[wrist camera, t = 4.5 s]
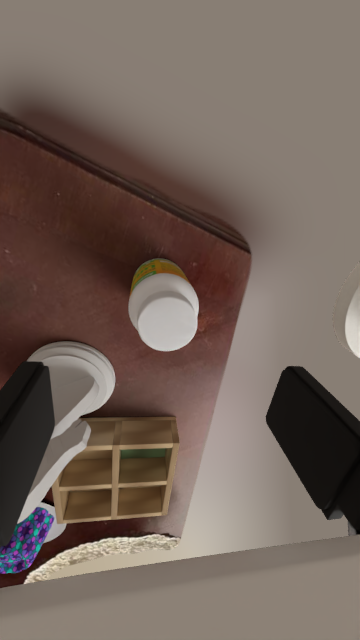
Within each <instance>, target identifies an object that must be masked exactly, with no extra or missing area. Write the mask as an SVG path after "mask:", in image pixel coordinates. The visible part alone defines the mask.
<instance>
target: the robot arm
mask: <svg viewBox="0 0 360 640" xmlns="http://www.w3.org/2000/svg"><path fill="white" fill-rule="evenodd" d="M266 422H267V425H268V426H269V428H270V430H271V431H272V433H273V435H274V436H275V438H276V440H277V441H278V443H279V445H280V447H281V448H282V450H283V452H284V453H285V455H286V456H287V458H288V460H289V462H290V463H291V465H292V466H293V468H294V470H295V471H296V473H297V475H298V477H299V478H300V480H301V482H302V483H303V485H304V487H305V488H306V490H307V492H308V493H309V495H310V496H311V498H312V500H313V501H314V503H315V505H316V506H317V507H318V508H319V509H321V510H322V512H323V513H324V515H325V517H326V518H327V520H331V519H339V518H341V517H342V516H343V515H345V517H346V518H347V520H348V532H349V536H346V537H338V538H331V539H323V540H316V541H310V542H301V543H294V544H288V545H281V546H273V547H266V548H259V549H252V550H245V551H238V552H231V553H224V554H217V555H210V556H203V557H196V558H190V559H182V560H176V561H169V562H162V563H155V564H148V565H142V566H136V567H128V568H122V569H115V570H108V571H101V572H95V573H88V574H82V575H76V576H70V577H64V578H58V579H52V580H46V581H40V582H34V583H28V584H22V585H16V586H11V587H5V588H1V589H0V640H360V421H359V420H358V419H357V418H356V417H355V416H354V415H352V413H350V412H349V411H348V410H347V409H346V408H345V407H344V406H343V405H342V404H341V403H340V402H339V401H338V400H337V399H336V398H335V397H334V396H333V395H332V394H330V392H328V391H327V390H326V389H325V388H324V387H323V386H322V385H321V384H320V383H319V382H318V381H317V380H316V379H315V378H314V377H313V376H312V375H311V374H310V373H309V372H308V371H306V370H305V369H304V368H303V367H300V366H288V367H287V368H286V369H285V370H283V371H282V373H281V376H280V379H279V382H278V384H277V387H276V390H275V393H274V396H273V398H272V401H271V404H270V406H269V409H268V412H267V415H266ZM54 427H55V417H54V408H53V399H52V390H51V381H50V372H49V367H48V366H44V364H43V362H35V361H24V362H22V363H21V365H20V366H19V367H18V368H17V370H16V371H15V372H14V373H13V375H12V376H11V377H10V379H9V380H8V381H7V382H6V384H5V385H4V386H3V387H2V389H1V390H0V549H1V546H6V545H7V544H8V543H9V541H10V540H11V537H12V535H13V533H14V530H15V528H16V525H17V522H18V520H19V517H20V515H21V512H22V510H23V507H24V505H25V502H26V500H27V497H28V495H29V492H30V490H31V487H32V484H33V482H34V479H35V477H36V474H37V472H38V469H39V467H40V464H41V462H42V459H43V457H44V454H45V452H46V449H47V446H48V444H49V441H50V439H51V436H52V434H53V431H54Z"/></svg>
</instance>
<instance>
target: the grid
mask: <svg viewBox="0 0 360 640" xmlns="http://www.w3.org/2000/svg"><path fill="white" fill-rule="evenodd" d="M78 419H81V420H82V422H83V421H86V422H87V423H88V425H89V426H90V428H91V433H90V436H89V439H88V441H87V447H86V448H85V449H84V450H82V451H81V452H79V453H78V454H76V455H75V456H74V457H73V458H72V459H71V460H70V462H69V463H68V464H67V465H66V466H65V467H64V468H63V470H62V471H61V472H60V474H59V476H58V477H57V479H56V480H55V482H54V483H53V484H52V492H53V499H54V506H55V513H56V520H57V524H63V523H64V524H65V523H76V522H88V521H100V520H113V519H125V518H137V517H149V516H160V515H167V510H168V505H169V499H170V494H171V488H172V482H173V477H174V471H175V466H176V460H177V455H178V449H179V436H178V429H177V423H176V417H106V418H78ZM78 419H77V420H78Z"/></svg>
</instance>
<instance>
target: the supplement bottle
mask: <svg viewBox="0 0 360 640" xmlns="http://www.w3.org/2000/svg"><path fill="white" fill-rule="evenodd" d="M198 310H199V303H198V298H197V295H196V293H195V291H194V289H193V287H192V286H191V284H190V283H189V281H188V280H187V278H186V276H185V275H184V273H183V272H182V270H181V269H180V268H179V267H178V266H177V265H176V264H175V263H173V262H172V261H169V260H166V259H152V260H149V261H147V262H145V263H144V264H142V265H141V266H140V267H139V268H138V269H137V271H136V273H135V275H134V277H133V281H132V286H131V292H130V298H129V316H130V319H131V322H132V323H133V325H134V327H135V328H136V329H137V330H138V333H139V335H140V337H141V339H142V340H143V341H144V342H145V343H146V344H147V345H148V346H150V347H151V348H153V349H156V350H160V351H173V350H176V349H179V348H181V347H183V346H185V345H186V344H187V343H188V342H190V340H191V339H192V338H193V336H194V335H195V332H196V330H197V316H198Z"/></svg>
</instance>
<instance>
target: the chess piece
mask: <svg viewBox="0 0 360 640" xmlns="http://www.w3.org/2000/svg"><path fill="white" fill-rule="evenodd" d="M27 361H35V362H43V364H44V366H48V367H49V372H50V381H51V390H52V399H53V408H54V417H55V427H54V431H53V434H52V436H51V439H50V441H49V444H48V446H47V449H46V452H45V454H44V457H43V459H42V462H41V464H40V467H39V469H38V472H37V474H36V477H35V479H34V482H33V484H32V487H31V490H30V492H29V495H28V497H27V500H26V502H25V505H24V507H23V510H22V512H21V515H20V517H19V520H18V522H17V524H18V523H20V522H22V521H23V520H24V519H26V518H27V517H28V516H29V515H30V514H31V513H32V512H33V511H34V509H35V508H36V507H37V506H38V505H39V503H40V502H41V501H42V500H43V498H44V497H45V495H46V493H47V492H48V490H49V489H50V487H51V486H52V484H53V483H54V482H55V480H56V479H57V477H58V476H59V474H60V472H61V471H62V470H63V468H64V467H65V466H66V465H67V464H68V463H69V462H70V460H71V459H72V458H73V457H74V456H75V455H76V454H78V453H79V452H81V451H82V450H84V449H85V448H86V447H87V441H88V439H89V436H90V433H91V428H90V426H89V425H88V423H87V422H86V421H83V422H82V420H81V419H78V418H79V417H80V416H81V415H85V414H87V413H90V412H93V411H95V410H97V409H98V408H100V407H101V406H102V405H104V404H105V403H106V401H107V400H108V399H109V397H110V396H111V394H112V392H113V390H114V386H115V372H114V369H113V367H112V365H111V363H110V362H109V360H108V359H107V358H106V357H105V356H104V355H103V354H102V353H101V352H99V351H98V350H96V349H95V348H93V347H91V346H88V345H86V344H82V343H78V342H70V341H62V342H55V343H51V344H48V345H45V346H43V347H41V348H39V349H38V350H37V351H35V352H34V353H33V354H32V355H31V356H30V357H29V359H28V360H27ZM77 419H78V420H77Z"/></svg>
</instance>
